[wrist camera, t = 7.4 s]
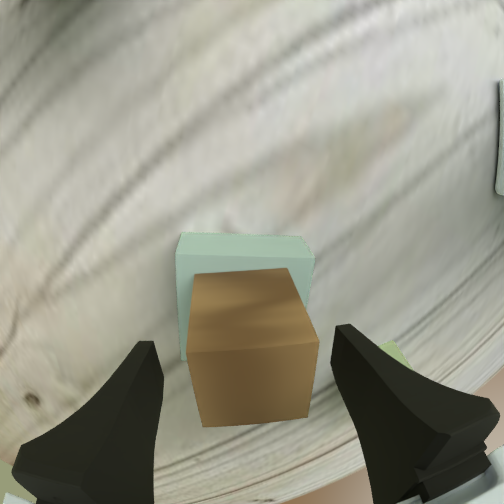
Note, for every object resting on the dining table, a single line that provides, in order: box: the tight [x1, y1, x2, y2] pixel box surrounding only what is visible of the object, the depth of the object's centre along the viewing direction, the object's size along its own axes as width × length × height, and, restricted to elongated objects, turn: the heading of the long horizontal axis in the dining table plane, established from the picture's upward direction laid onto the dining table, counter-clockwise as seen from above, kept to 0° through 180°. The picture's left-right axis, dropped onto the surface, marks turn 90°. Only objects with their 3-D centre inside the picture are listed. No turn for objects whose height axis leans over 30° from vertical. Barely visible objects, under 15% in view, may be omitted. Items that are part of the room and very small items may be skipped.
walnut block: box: [186, 268, 319, 427], centre depth 12 cm, size 4×4×5 cm
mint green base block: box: [175, 232, 315, 361], centre depth 16 cm, size 6×6×3 cm
